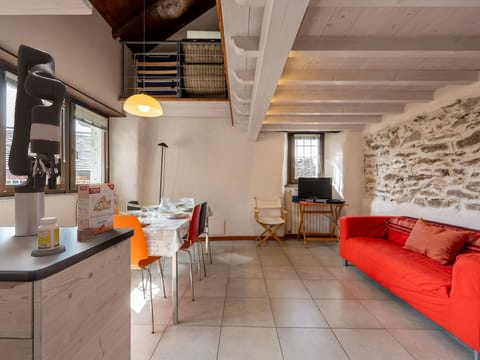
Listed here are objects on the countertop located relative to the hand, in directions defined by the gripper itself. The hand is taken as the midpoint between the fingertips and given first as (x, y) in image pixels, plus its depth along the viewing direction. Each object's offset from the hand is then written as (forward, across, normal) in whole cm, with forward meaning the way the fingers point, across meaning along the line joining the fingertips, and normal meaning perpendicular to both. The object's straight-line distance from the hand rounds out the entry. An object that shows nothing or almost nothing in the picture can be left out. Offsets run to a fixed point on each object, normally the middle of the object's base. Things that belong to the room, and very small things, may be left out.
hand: (45, 188), depth 78 cm
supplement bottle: (+19, +5, -1) cm, 20 cm away
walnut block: (+20, +1, +13) cm, 24 cm away
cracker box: (+20, -6, +22) cm, 31 cm away
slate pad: (+20, +5, -1) cm, 21 cm away
